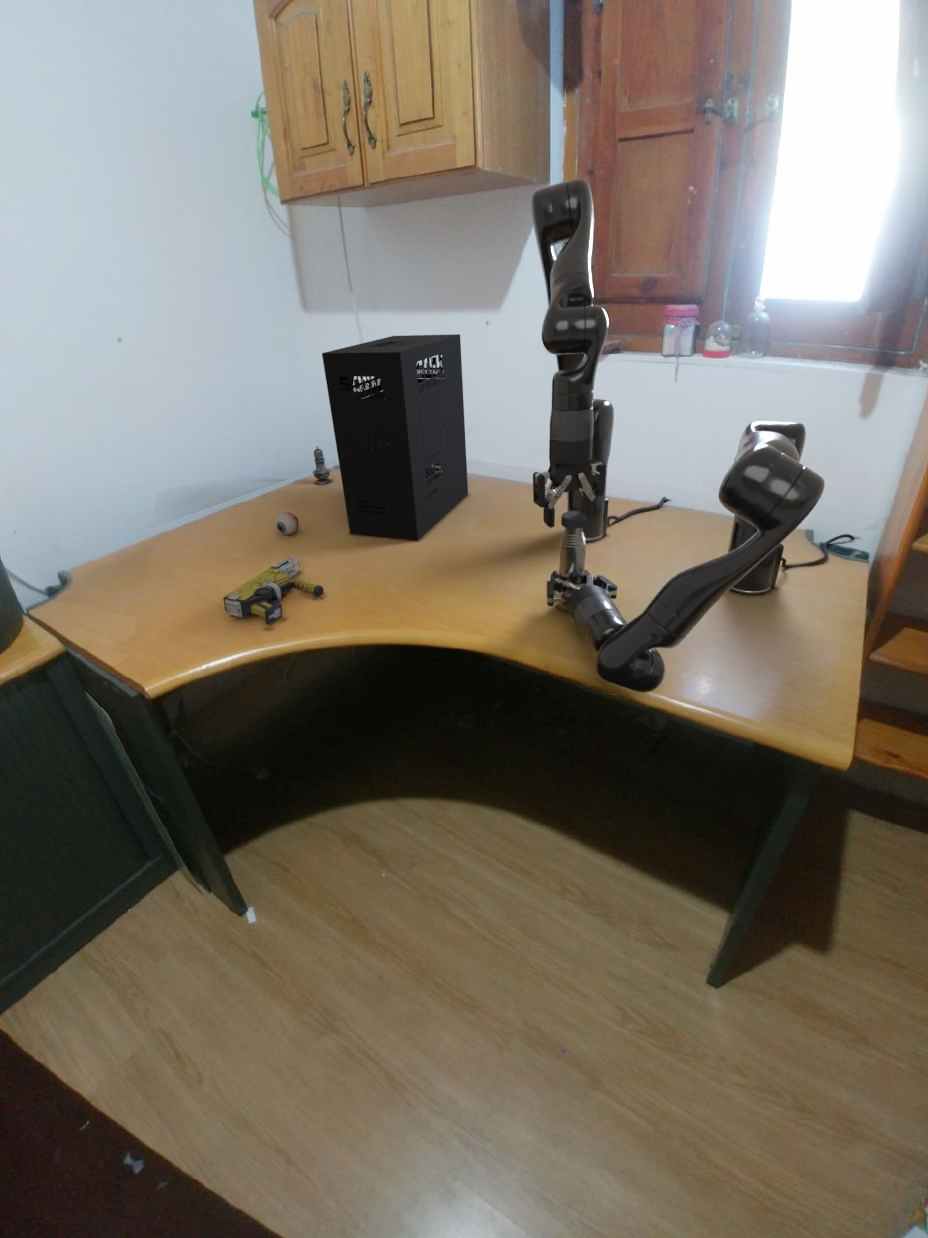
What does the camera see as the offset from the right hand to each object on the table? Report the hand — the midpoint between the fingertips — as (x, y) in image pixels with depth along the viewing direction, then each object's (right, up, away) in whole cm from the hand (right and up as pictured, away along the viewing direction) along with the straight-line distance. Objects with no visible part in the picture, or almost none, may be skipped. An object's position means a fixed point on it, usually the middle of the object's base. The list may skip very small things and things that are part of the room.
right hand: (567, 573), depth 122 cm
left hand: (-1, +9, -8) cm, 12 cm away
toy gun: (-60, -5, +10) cm, 61 cm away
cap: (0, +10, -9) cm, 13 cm away
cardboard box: (-36, +22, +53) cm, 68 cm away
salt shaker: (-69, +38, +84) cm, 115 cm away
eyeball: (-69, +14, +43) cm, 82 cm away
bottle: (+1, -6, +1) cm, 7 cm away
